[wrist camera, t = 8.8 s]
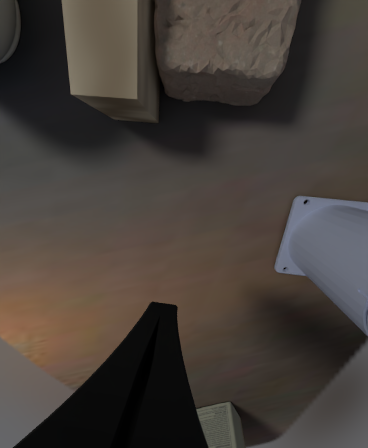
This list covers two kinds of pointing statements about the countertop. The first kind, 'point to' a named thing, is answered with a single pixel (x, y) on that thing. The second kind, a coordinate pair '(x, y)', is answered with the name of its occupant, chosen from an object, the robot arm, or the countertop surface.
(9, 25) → the white round tub
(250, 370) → the countertop surface
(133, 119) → the batten
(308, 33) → the countertop surface
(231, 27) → the brick
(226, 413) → the skincare box
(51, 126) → the countertop surface
